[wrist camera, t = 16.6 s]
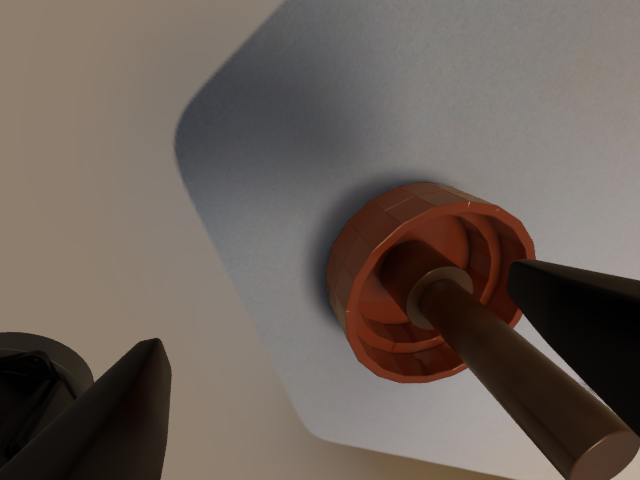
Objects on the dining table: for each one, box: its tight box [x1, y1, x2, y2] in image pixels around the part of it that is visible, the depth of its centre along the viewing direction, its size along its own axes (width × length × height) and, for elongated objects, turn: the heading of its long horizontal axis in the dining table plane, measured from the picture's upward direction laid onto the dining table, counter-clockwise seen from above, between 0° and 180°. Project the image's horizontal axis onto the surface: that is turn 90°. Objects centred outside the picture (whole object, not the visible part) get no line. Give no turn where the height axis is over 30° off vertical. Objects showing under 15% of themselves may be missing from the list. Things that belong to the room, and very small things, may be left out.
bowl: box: [326, 182, 536, 383], centre depth 22 cm, size 12×12×5 cm
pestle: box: [380, 240, 640, 480], centre depth 17 cm, size 4×4×14 cm
